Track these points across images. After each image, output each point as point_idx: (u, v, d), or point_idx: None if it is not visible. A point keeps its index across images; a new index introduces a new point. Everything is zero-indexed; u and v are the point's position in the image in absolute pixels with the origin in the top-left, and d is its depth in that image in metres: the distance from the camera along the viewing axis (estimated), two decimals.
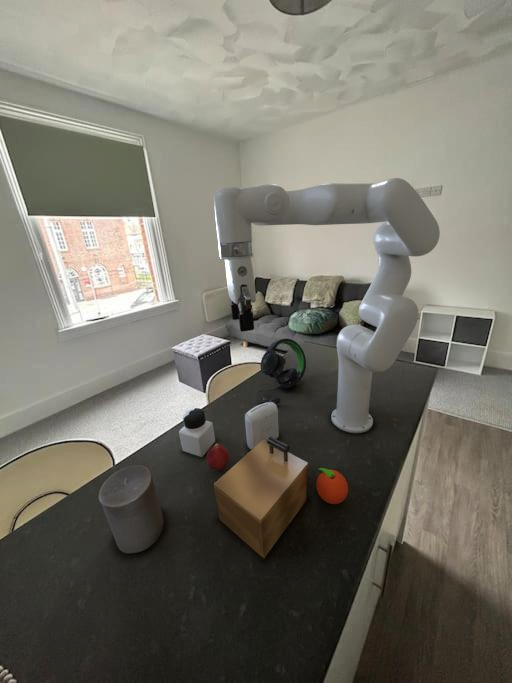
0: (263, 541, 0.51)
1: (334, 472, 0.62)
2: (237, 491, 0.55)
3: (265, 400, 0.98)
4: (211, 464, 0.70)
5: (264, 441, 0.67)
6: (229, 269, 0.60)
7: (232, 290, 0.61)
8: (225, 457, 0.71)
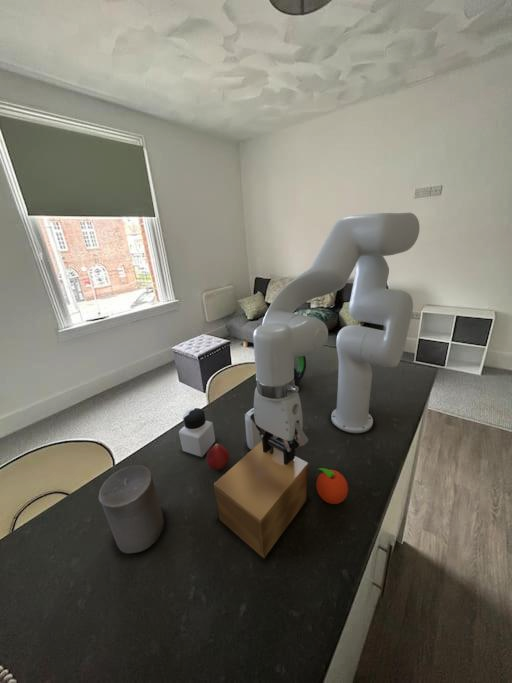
0: (263, 541, 0.51)
1: (334, 472, 0.62)
2: (237, 491, 0.55)
3: None
4: (211, 464, 0.70)
5: None
6: (279, 409, 0.54)
7: (283, 428, 0.55)
8: (225, 457, 0.71)
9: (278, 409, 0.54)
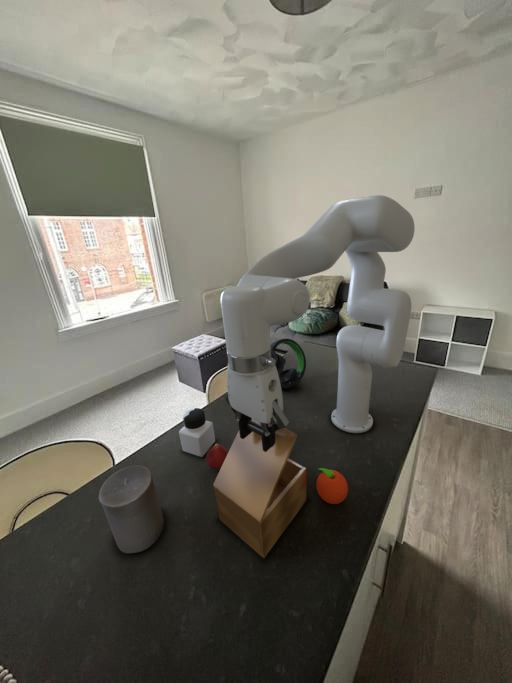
0: (263, 541, 0.51)
1: (334, 472, 0.62)
2: (234, 490, 0.54)
3: None
4: (211, 464, 0.70)
5: None
6: (253, 385, 0.46)
7: (258, 409, 0.47)
8: (225, 457, 0.71)
9: (252, 386, 0.46)
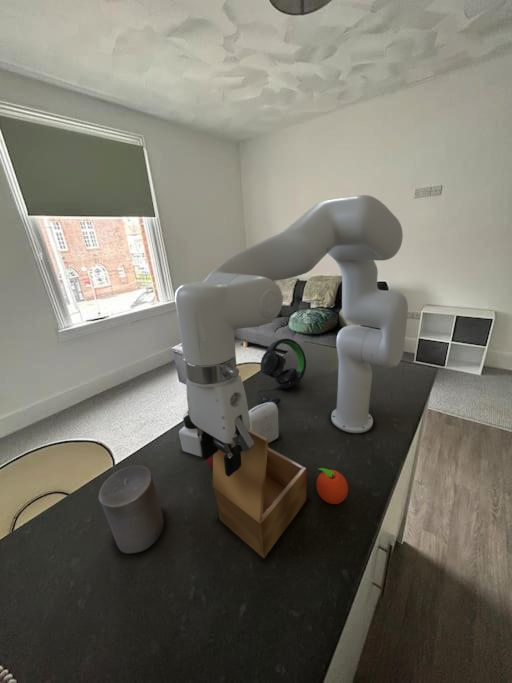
0: (263, 541, 0.51)
1: (334, 472, 0.62)
2: (230, 493, 0.53)
3: (265, 400, 0.98)
4: (211, 464, 0.70)
5: None
6: (213, 399, 0.39)
7: (219, 426, 0.41)
8: None
9: (212, 399, 0.39)
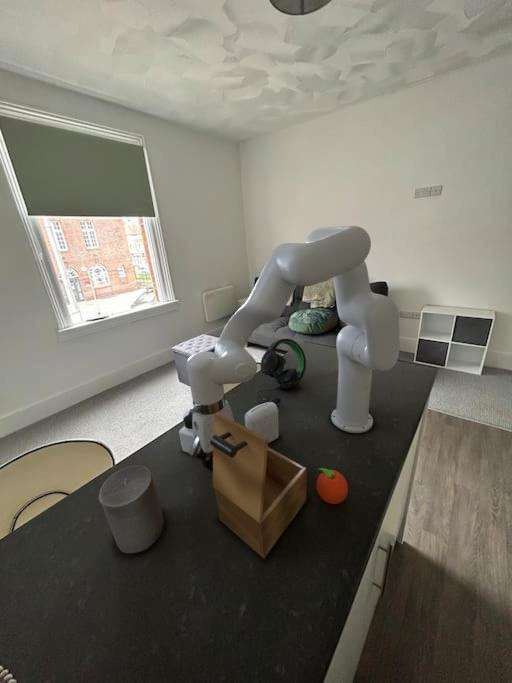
0: (263, 541, 0.51)
1: (334, 472, 0.62)
2: (230, 493, 0.53)
3: (265, 400, 0.98)
4: None
5: (216, 417, 0.53)
6: None
7: None
8: None
9: None
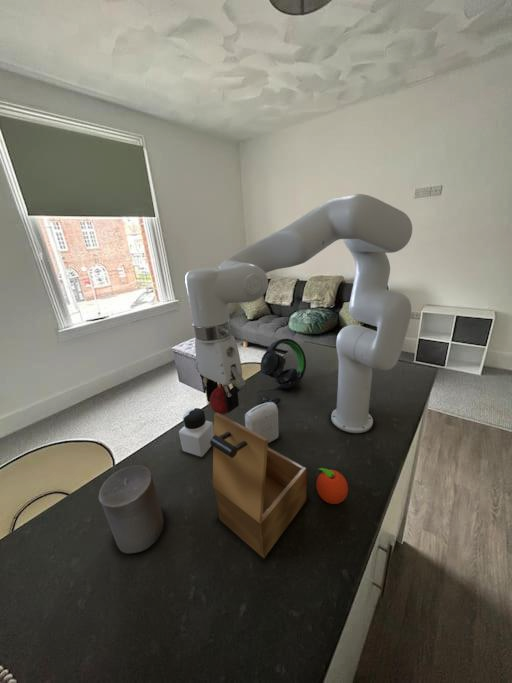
0: (263, 541, 0.51)
1: (334, 472, 0.62)
2: (230, 493, 0.53)
3: (265, 400, 0.98)
4: None
5: (216, 417, 0.53)
6: (214, 351, 0.55)
7: (219, 372, 0.56)
8: None
9: (213, 352, 0.55)
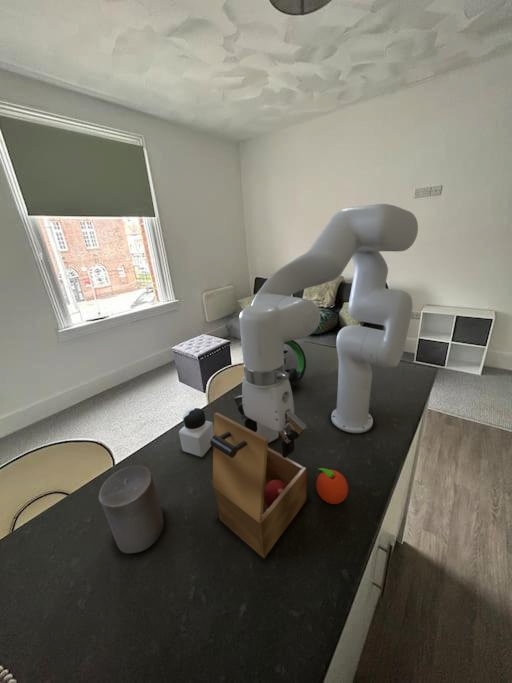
0: (263, 541, 0.51)
1: (334, 472, 0.62)
2: (230, 493, 0.53)
3: None
4: None
5: (216, 417, 0.53)
6: (268, 397, 0.50)
7: (272, 418, 0.51)
8: None
9: (267, 397, 0.50)
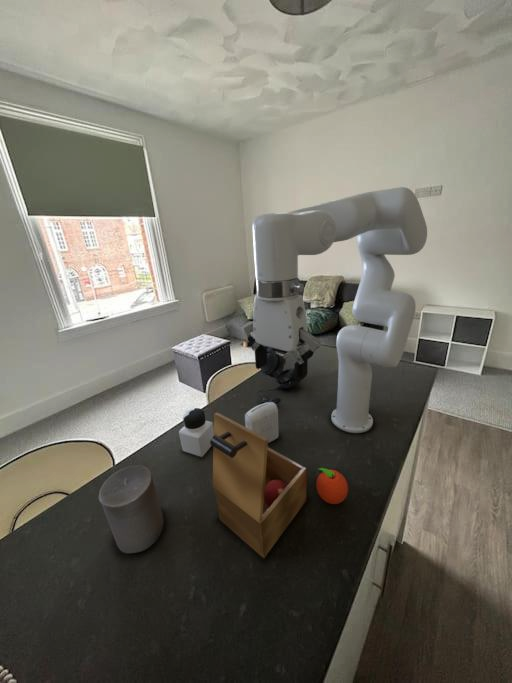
0: (263, 541, 0.51)
1: (334, 472, 0.62)
2: (230, 493, 0.53)
3: (265, 400, 0.98)
4: None
5: (216, 417, 0.53)
6: (281, 311, 0.48)
7: (285, 336, 0.49)
8: None
9: (280, 312, 0.48)
